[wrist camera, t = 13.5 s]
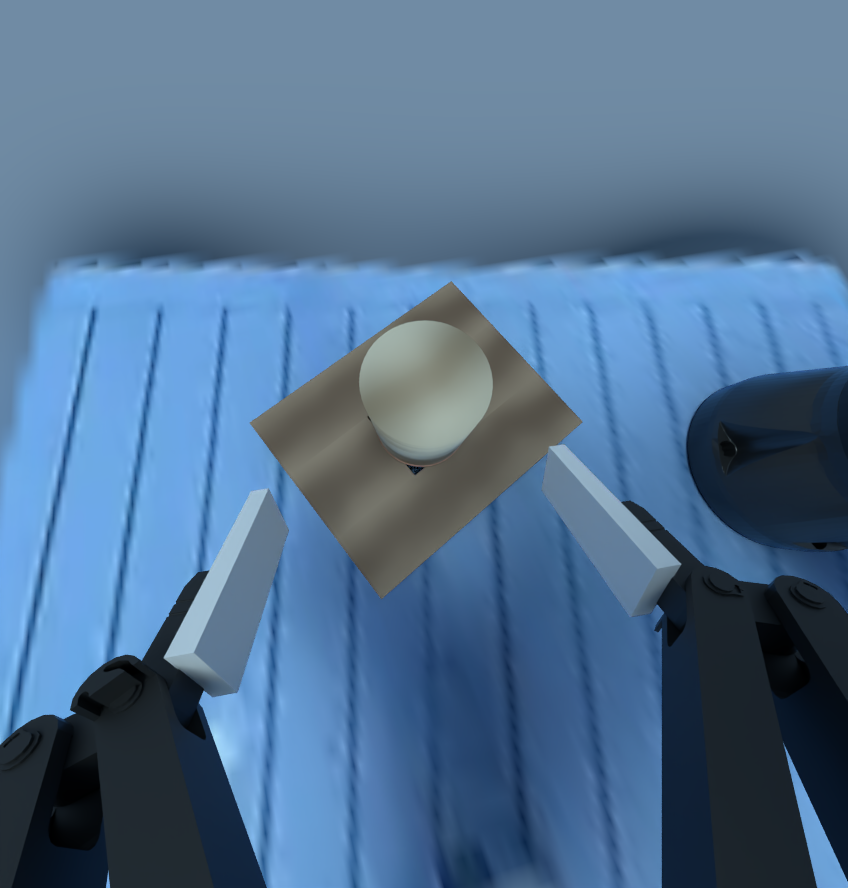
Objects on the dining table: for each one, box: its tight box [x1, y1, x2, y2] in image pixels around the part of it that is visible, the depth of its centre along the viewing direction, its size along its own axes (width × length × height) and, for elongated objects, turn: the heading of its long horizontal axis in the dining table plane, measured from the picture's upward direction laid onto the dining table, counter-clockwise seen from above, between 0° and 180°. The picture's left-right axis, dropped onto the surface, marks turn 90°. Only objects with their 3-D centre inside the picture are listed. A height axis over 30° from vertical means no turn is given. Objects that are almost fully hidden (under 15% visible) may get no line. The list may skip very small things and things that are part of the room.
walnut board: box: [250, 281, 582, 599], centre depth 25 cm, size 16×20×4 cm
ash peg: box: [359, 320, 493, 467], centre depth 21 cm, size 7×7×11 cm
